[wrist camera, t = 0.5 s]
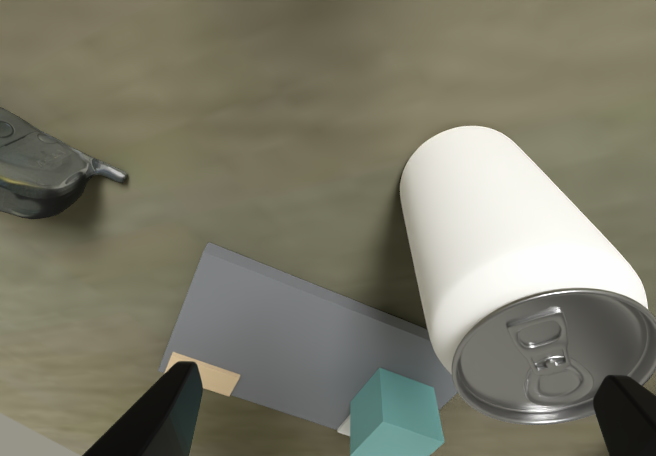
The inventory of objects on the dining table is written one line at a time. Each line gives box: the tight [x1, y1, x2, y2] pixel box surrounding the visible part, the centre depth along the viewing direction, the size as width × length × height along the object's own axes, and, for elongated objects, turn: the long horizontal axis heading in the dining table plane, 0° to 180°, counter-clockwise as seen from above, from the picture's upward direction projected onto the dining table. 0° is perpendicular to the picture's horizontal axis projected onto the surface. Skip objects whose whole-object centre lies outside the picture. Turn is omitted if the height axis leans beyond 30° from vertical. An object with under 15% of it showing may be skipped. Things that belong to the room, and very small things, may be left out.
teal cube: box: [350, 368, 444, 456], centre depth 28 cm, size 4×4×4 cm
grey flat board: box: [158, 242, 458, 436], centre depth 29 cm, size 20×12×1 cm, turn 65°
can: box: [400, 126, 656, 425], centre depth 17 cm, size 6×6×12 cm
